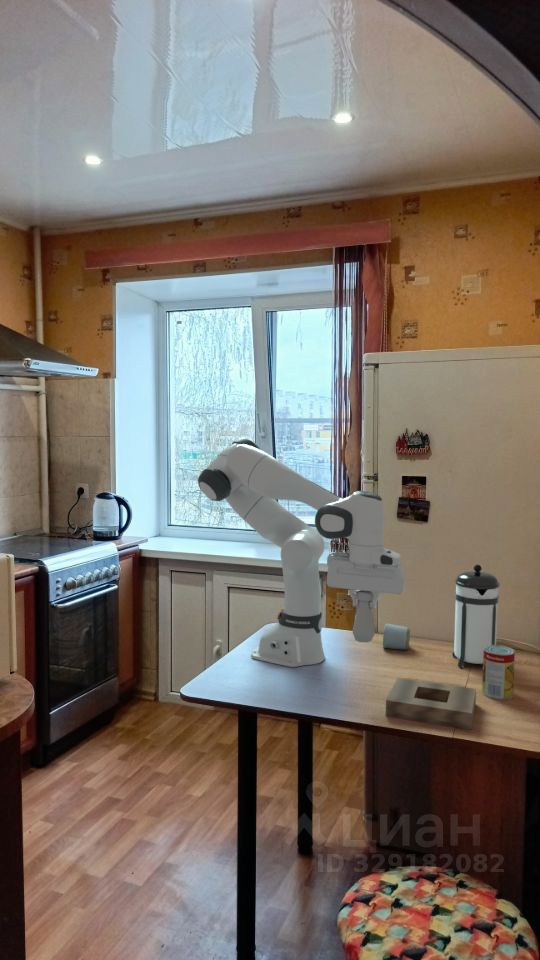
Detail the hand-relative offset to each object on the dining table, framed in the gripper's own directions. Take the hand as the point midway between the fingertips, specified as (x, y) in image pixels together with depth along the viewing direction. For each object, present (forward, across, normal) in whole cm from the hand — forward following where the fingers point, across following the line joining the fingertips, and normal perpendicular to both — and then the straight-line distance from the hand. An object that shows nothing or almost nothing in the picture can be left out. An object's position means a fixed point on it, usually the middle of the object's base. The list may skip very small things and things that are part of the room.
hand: (364, 607), depth 173 cm
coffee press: (+24, +25, +39) cm, 52 cm away
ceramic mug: (+24, +1, +44) cm, 50 cm away
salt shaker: (+9, 0, 0) cm, 9 cm away
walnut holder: (+23, +18, -2) cm, 30 cm away
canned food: (+24, +33, +15) cm, 43 cm away
